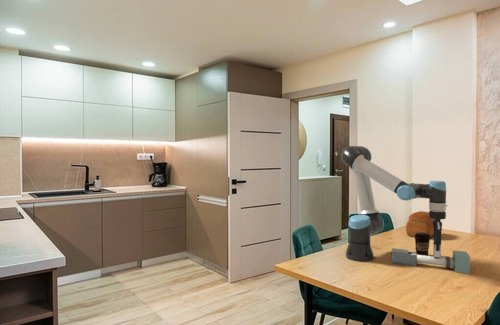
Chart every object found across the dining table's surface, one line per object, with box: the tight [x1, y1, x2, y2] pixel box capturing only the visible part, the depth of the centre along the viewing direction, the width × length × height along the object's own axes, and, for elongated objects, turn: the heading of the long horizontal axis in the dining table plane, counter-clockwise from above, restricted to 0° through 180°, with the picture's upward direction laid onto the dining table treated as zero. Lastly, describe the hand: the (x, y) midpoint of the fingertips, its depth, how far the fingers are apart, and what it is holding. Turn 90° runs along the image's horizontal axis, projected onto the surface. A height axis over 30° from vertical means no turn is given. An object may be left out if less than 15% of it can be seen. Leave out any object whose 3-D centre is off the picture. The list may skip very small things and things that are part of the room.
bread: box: [405, 210, 434, 238], centre depth 235 cm, size 18×22×17 cm
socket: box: [452, 250, 471, 275], centre depth 163 cm, size 6×9×8 cm, turn 156°
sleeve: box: [391, 248, 418, 267], centre depth 174 cm, size 12×6×7 cm, turn 66°
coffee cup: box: [414, 232, 432, 256], centre depth 187 cm, size 9×8×13 cm
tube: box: [411, 239, 455, 269], centre depth 168 cm, size 25×6×14 cm, turn 66°
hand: (437, 255), depth 167 cm, fingers closed on tube, 3 cm apart
